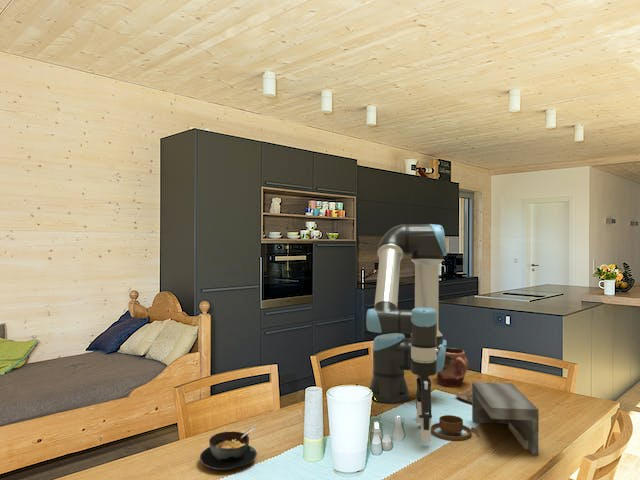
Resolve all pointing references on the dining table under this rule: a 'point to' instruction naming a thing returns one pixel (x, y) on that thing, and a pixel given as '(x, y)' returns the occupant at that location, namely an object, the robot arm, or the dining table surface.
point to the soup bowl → (228, 450)
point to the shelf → (507, 411)
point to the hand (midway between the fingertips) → (423, 431)
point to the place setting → (451, 427)
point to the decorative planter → (453, 368)
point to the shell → (466, 396)
